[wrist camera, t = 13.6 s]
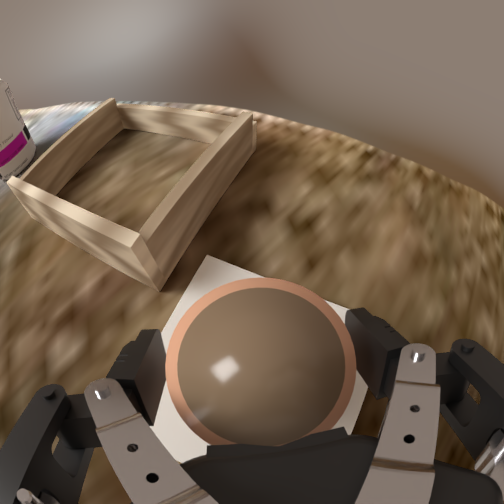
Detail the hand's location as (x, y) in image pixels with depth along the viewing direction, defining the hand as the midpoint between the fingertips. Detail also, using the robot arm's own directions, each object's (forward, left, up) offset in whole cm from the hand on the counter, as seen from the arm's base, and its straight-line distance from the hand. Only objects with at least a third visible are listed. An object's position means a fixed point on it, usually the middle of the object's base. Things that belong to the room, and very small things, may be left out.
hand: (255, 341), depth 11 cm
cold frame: (+18, -11, -7) cm, 22 cm away
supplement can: (+44, -8, -7) cm, 46 cm away
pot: (-1, +1, -6) cm, 6 cm away
